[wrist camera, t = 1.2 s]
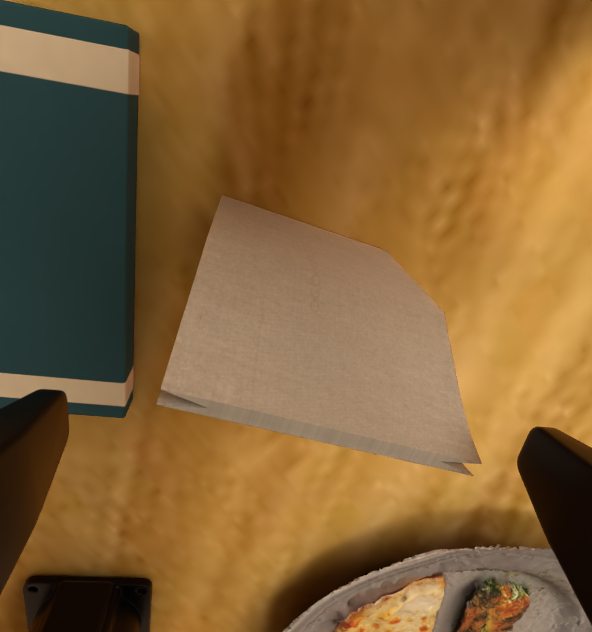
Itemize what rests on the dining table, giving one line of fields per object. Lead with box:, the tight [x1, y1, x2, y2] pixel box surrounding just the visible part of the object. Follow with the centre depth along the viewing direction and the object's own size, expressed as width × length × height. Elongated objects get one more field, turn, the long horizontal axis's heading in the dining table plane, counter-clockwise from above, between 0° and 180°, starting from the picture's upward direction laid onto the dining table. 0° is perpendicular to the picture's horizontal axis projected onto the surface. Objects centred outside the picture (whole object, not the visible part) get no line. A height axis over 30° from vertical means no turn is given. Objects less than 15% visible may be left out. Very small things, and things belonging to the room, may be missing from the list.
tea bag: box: [156, 195, 482, 476], centre depth 13 cm, size 4×7×10 cm, turn 70°
